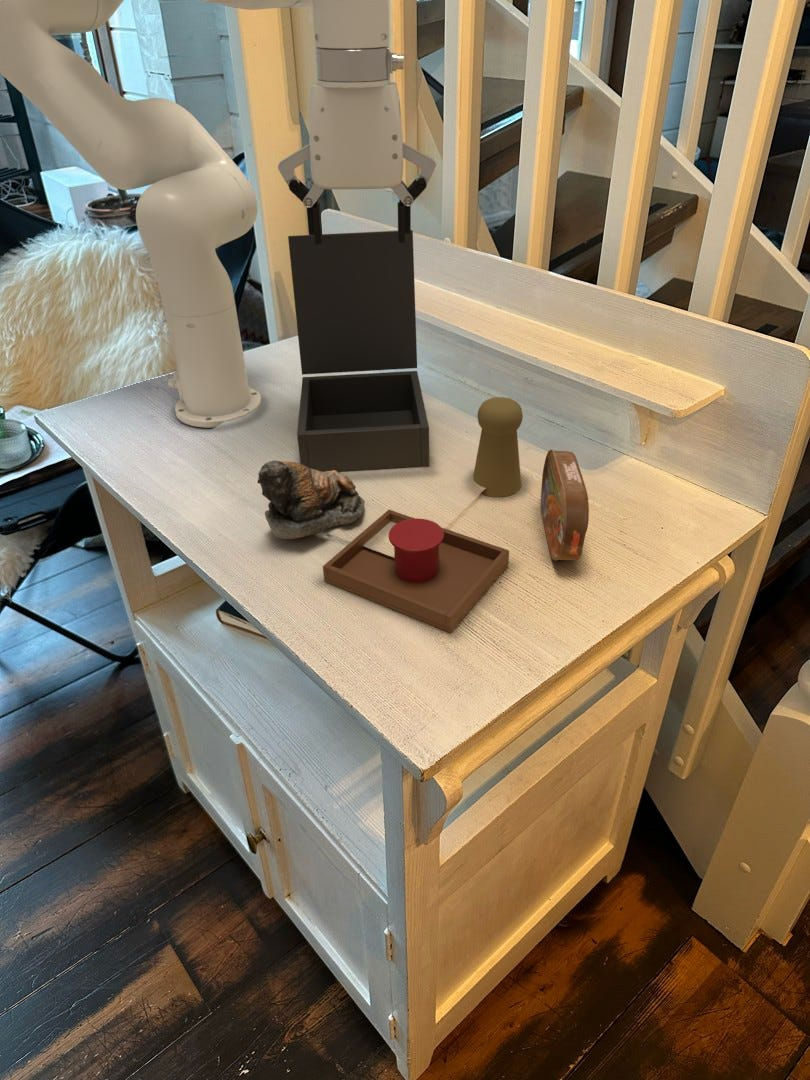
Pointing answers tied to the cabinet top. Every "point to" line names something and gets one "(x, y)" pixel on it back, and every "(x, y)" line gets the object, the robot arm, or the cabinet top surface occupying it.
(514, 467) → the olive pawn piece
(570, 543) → the tin
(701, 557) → the cabinet top surface
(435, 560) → the coffee pod
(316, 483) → the bison figurine
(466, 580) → the tray
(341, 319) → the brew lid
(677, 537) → the cabinet top surface
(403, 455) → the pod bay
